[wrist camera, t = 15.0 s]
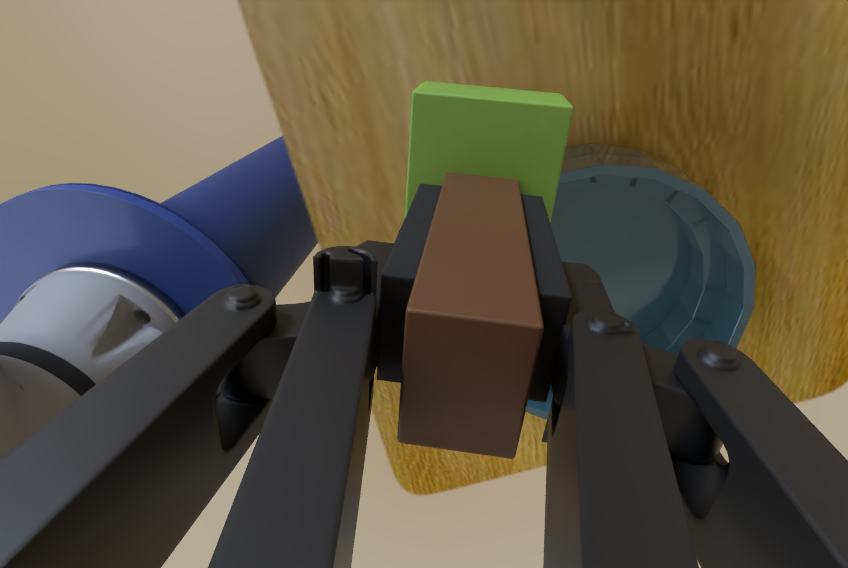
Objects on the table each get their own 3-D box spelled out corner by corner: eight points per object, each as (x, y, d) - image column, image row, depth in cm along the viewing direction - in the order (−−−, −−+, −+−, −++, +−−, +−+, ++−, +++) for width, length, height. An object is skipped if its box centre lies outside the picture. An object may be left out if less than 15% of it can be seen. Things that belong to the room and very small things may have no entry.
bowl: (443, 356, 41) (436, 405, 36) (465, 129, 33) (461, 150, 27) (670, 383, 40) (697, 439, 35) (755, 155, 31) (809, 182, 26)
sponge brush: (524, 289, 22) (556, 546, 11) (409, 275, 22) (335, 512, 11) (562, 93, 18) (666, 199, 7) (423, 80, 18) (329, 163, 8)
